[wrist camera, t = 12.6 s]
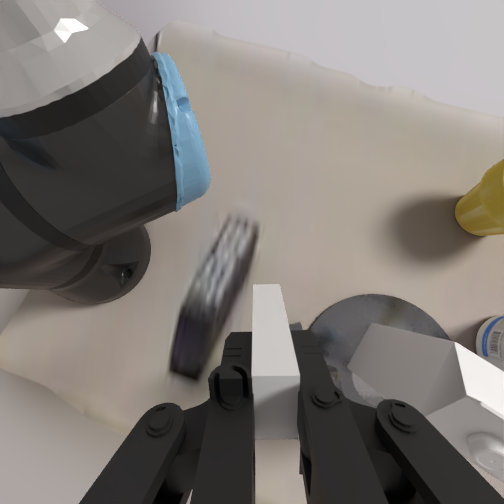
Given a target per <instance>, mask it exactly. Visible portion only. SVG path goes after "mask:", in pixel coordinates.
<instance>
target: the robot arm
mask: <svg viewBox="0 0 504 504" xmlns="http://www.w3.org/2000/svg"><path fill="white" fill-rule="evenodd" d="M210 180H211V178H210V169H209V164H208V159H207V155H206V151H205V147H204V144H203V140H202V137H201V133H200V130H199V127H198V124H197V121H196V118H195V115H194V112H193V111H192V109H191V108H190V102H189V99H188V96H187V92H186V89H185V86H184V83H183V81H182V78H181V76H180V74H179V71H178V69H177V67H176V65H175V63H174V61H173V60H172V58H171V57H170V56H169V55H168V54H165V53H161V54H160V53H158V52H155V53H153V54H151V56H150V55H149V52H148V50H147V48H146V46H145V44H144V42H143V39H142V38H141V35H140V33H139V31H138V29H137V27H136V26H135V25H133V24H132V23H130V22H129V21H127V20H125V19H124V18H122V17H120V16H119V15H117V14H115V13H114V12H112V11H110V10H109V9H107V8H106V7H104V6H103V5H102V4H101V3H100V2H99V1H98V0H0V288H12V289H47V290H49V291H51V292H54V293H56V294H58V295H60V296H63V297H65V298H67V299H69V300H72V301H75V302H79V303H105V302H110V301H113V300H116V299H118V298H120V297H122V296H124V295H125V294H127V293H128V292H130V291H131V290H132V289H133V288H134V287H135V286H136V285H137V284H138V283H139V281H140V280H141V279H142V277H143V275H144V274H145V272H146V270H147V267H148V264H149V260H150V254H151V245H150V239H149V236H148V233H147V231H146V229H145V227H144V224H146V223H148V222H150V221H153V220H155V219H157V218H159V217H162V216H164V215H166V214H168V213H171V212H173V211H175V212H177V211H178V210H180V209H181V207H182V206H184V205H186V204H188V203H190V202H192V201H194V200H196V199H198V198H200V197H201V196H203V195H204V194H205V193H206V191H207V189H208V188H209V185H210ZM208 382H209V391H210V398H209V399H208V400H207V401H206V402H204V403H203V404H201V405H198V406H196V407H193V408H190V409H187V410H184V411H182V409H181V408H180V406H178V405H176V404H174V403H163V404H159V405H156V406H154V407H153V408H151V409H150V410H148V411H147V412H146V413H145V414H144V415H143V416H142V417H141V418H140V420H139V421H138V422H137V424H136V425H135V426H134V428H133V429H132V431H131V432H130V433H129V435H128V436H127V438H126V439H125V440H124V442H123V443H122V445H121V446H120V447H119V449H118V450H117V451H116V453H115V454H114V456H113V457H112V458H111V460H110V461H109V463H108V464H107V465H106V467H105V468H104V469H103V471H102V472H101V474H100V475H99V477H98V478H97V479H96V481H95V482H94V483H93V485H92V486H91V488H90V489H89V490H88V492H87V493H86V494H85V496H84V497H83V499H82V500H81V501H80V503H79V504H186V503H187V500H188V498H189V495H190V492H191V490H192V489H193V492H192V496H191V502H190V504H255V439H298V434H299V440H300V472H299V474H303V480H304V486H305V492H306V499H307V504H504V498H503V497H502V496H501V495H500V494H499V493H498V492H497V491H496V490H495V489H494V488H493V487H492V486H491V485H490V484H489V483H488V482H487V481H486V480H485V479H484V478H483V477H482V476H481V475H480V474H479V472H478V471H477V470H476V469H475V468H474V467H473V466H472V465H471V464H470V463H469V462H468V461H467V460H466V459H465V458H464V457H463V456H462V455H461V454H460V453H459V452H458V451H457V450H456V449H455V448H454V447H453V446H452V444H451V443H450V442H449V441H448V440H447V439H446V438H445V437H444V436H443V435H442V434H441V433H440V432H439V431H438V430H437V429H436V428H435V427H434V426H433V425H432V424H431V423H430V422H429V421H428V420H427V419H426V417H425V416H424V415H423V414H421V413H420V412H419V411H418V410H417V409H415V408H414V407H413V406H411V405H409V404H407V403H405V402H403V401H399V400H396V399H385V400H383V401H381V402H379V404H378V406H377V408H373V407H370V406H366V405H362V404H359V403H356V402H354V401H351V400H350V399H348V398H346V397H345V396H344V394H343V393H342V391H341V390H339V389H338V388H337V387H336V386H335V385H334V383H333V380H332V377H331V375H330V372H329V369H328V367H327V364H326V361H325V359H324V356H323V355H322V351H321V348H320V346H319V343H318V340H317V338H316V336H315V335H314V334H313V333H312V332H311V331H309V330H290V328H289V324H288V319H287V315H286V310H285V306H284V302H283V297H282V293H281V288H280V284H262V285H253V325H252V332H231V333H230V335H229V336H228V337H227V338H226V340H225V345H224V350H223V357H222V361H221V365H220V366H218V367H217V368H215V369H214V370H213V371H212V372H211V374H210V376H209V378H208Z"/></svg>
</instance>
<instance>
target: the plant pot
mask: <svg viewBox="0 0 504 504" xmlns="http://www.w3.org/2000/svg"><path fill="white" fill-rule="evenodd" d="M455 217H456V220H457V222H458V223H459V225H460V226H461V227H462V228H463V229H464V230H465V231H467V232H469V233H471V234H474V235H478V236H487V235H499V234H504V159H503V160H502V161H500V162H498V163H497V164H495V165H494V166H492V167H491V168H490V169H489V170H488V171H487V172H486V173H485V174H484V176H483V178H482V180H481V182H480V183H479V184H477V185H476V186H475V187H474V188H473V189H472V190H470V191H469V192H468V193H467V194H466V195H465V196H463V197H462V198H461V199H460V200H459V201H458V203H457V205H456V207H455Z"/></svg>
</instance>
